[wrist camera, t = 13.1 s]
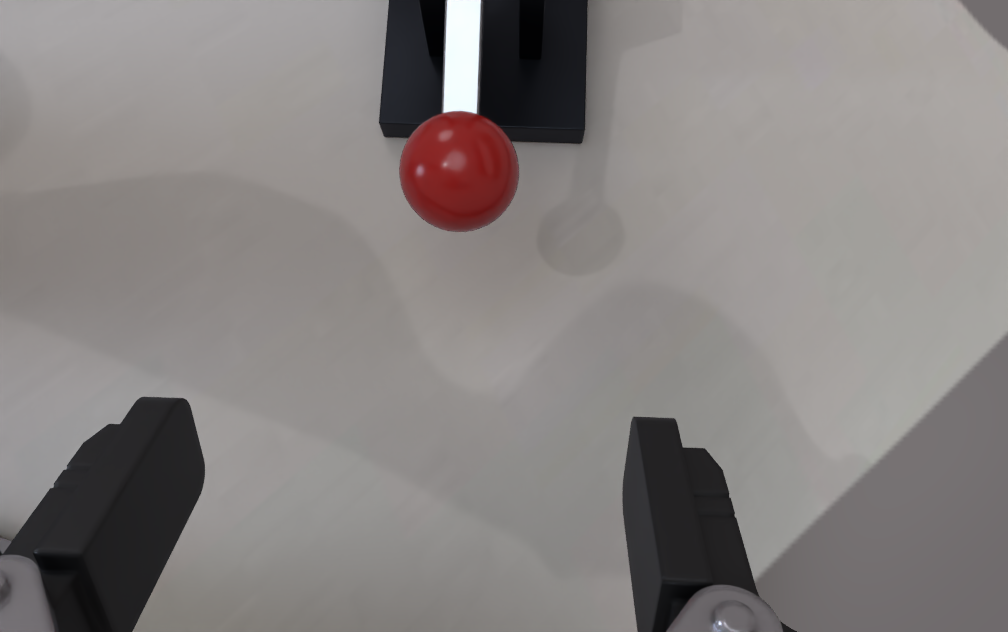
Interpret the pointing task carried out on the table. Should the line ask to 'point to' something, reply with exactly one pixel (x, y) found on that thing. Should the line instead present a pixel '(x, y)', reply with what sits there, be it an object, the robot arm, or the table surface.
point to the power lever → (460, 139)
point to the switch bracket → (492, 67)
